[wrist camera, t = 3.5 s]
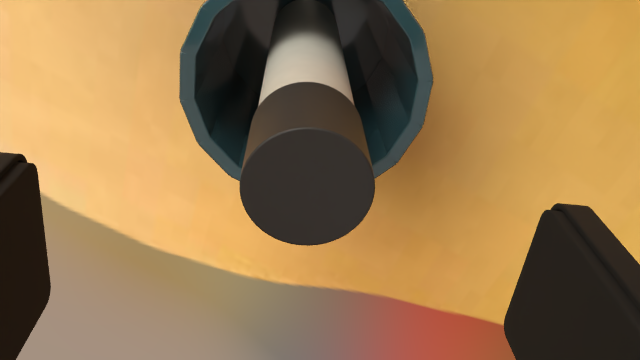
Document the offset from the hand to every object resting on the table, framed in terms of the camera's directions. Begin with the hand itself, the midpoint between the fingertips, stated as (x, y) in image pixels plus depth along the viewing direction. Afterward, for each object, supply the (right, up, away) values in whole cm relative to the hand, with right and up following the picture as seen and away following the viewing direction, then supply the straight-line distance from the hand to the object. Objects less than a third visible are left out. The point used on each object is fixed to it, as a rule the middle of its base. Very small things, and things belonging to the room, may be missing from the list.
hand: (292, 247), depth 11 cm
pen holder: (0, +8, +15) cm, 17 cm away
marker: (0, +8, +14) cm, 16 cm away
